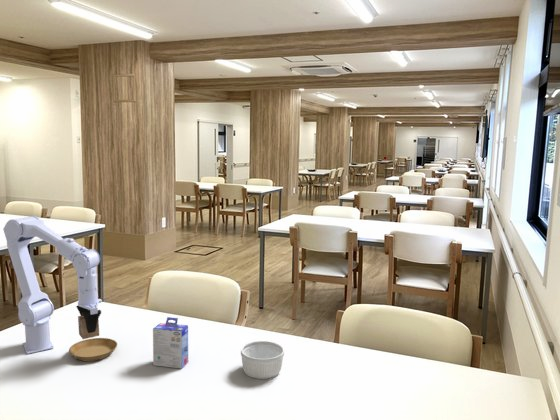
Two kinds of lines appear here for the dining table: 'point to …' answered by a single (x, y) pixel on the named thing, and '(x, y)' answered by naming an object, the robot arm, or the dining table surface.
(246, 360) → the ramekin
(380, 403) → the dining table surface
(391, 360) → the dining table surface
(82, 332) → the walnut block
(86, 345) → the plant saucer
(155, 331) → the ink cartridge box
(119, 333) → the dining table surface
